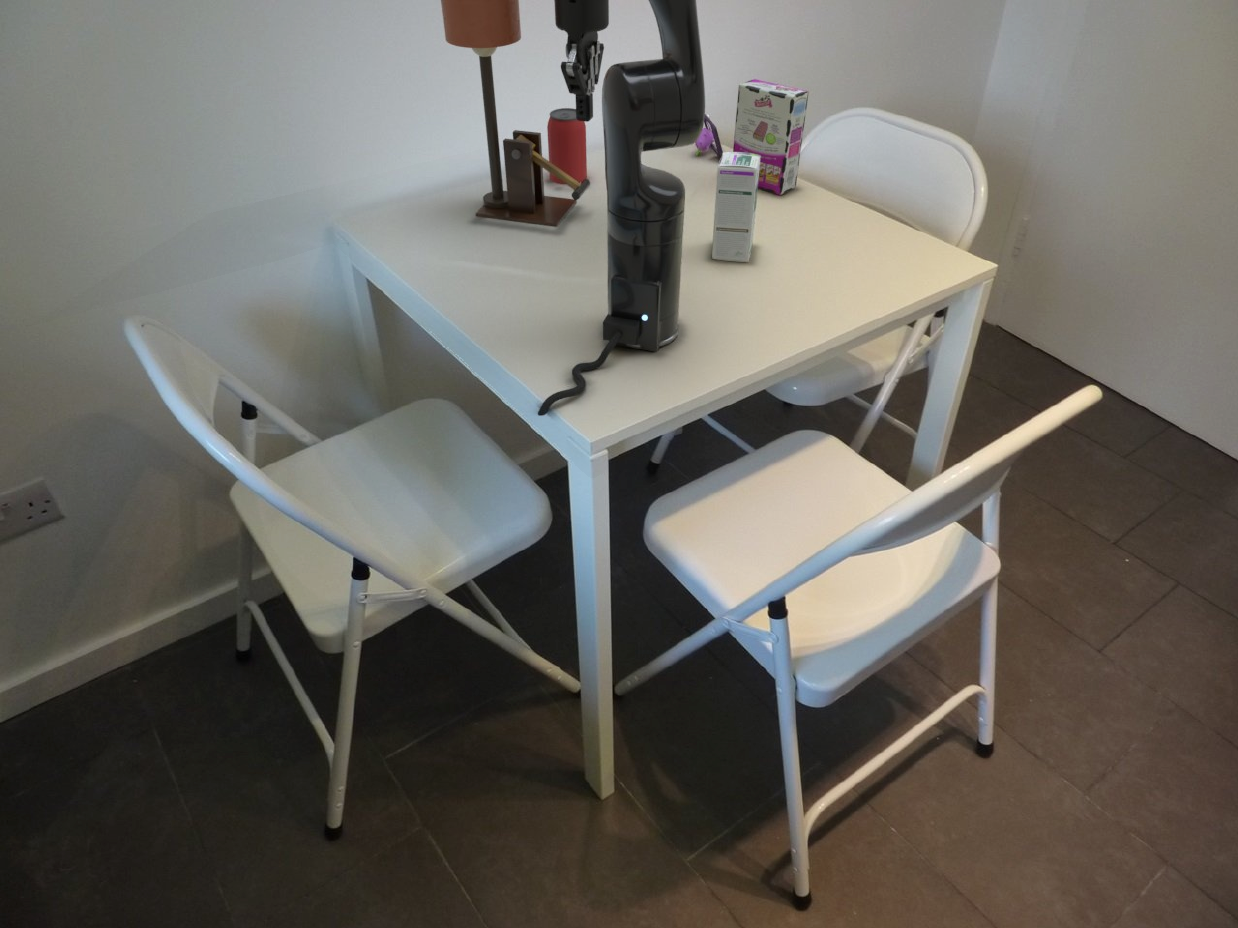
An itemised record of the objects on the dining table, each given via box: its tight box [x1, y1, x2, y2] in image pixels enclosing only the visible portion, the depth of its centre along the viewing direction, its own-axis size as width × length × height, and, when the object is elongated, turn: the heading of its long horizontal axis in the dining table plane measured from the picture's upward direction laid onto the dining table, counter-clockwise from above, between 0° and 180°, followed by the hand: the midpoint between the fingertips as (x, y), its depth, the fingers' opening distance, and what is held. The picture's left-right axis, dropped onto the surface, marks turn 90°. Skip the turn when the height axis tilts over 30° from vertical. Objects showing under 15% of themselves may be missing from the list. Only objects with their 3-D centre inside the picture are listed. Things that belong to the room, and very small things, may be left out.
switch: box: [516, 135, 591, 201], centre depth 133 cm, size 13×6×2 cm
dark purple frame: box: [694, 113, 724, 159], centre depth 159 cm, size 7×5×9 cm
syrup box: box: [711, 151, 760, 263], centre depth 124 cm, size 6×6×14 cm
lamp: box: [440, 0, 522, 209], centre depth 129 cm, size 11×11×32 cm
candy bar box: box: [732, 78, 810, 196], centre depth 144 cm, size 11×5×16 cm, turn 48°
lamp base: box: [475, 129, 578, 228], centre depth 135 cm, size 14×10×13 cm
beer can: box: [546, 107, 588, 185], centre depth 146 cm, size 7×7×12 cm
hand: (584, 119), depth 126 cm, fingers closed
